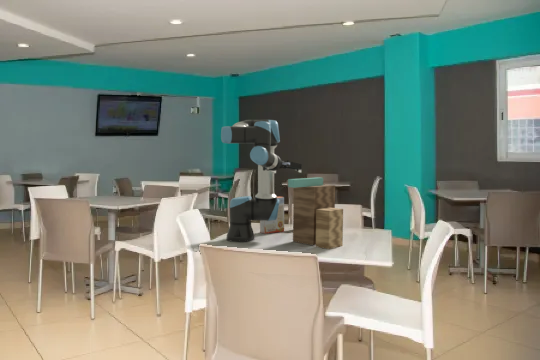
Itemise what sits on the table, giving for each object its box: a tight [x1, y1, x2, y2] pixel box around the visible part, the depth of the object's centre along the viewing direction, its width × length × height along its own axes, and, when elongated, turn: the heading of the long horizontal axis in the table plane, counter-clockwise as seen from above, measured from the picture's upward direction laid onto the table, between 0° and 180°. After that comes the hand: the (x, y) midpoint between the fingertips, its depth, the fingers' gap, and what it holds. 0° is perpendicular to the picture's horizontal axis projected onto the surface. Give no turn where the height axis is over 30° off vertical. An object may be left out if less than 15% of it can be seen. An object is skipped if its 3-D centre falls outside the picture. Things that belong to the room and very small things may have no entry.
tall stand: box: [292, 184, 336, 246], centre depth 259 cm, size 18×14×30 cm
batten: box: [287, 177, 324, 189], centre depth 253 cm, size 24×4×4 cm, turn 136°
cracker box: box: [259, 196, 285, 235], centre depth 287 cm, size 14×6×21 cm, turn 123°
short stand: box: [315, 207, 344, 250], centre depth 246 cm, size 12×8×19 cm, turn 136°
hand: (287, 170), depth 242 cm, fingers open, 13 cm apart
